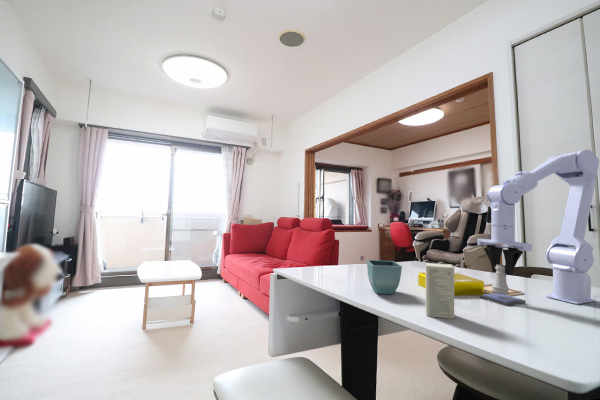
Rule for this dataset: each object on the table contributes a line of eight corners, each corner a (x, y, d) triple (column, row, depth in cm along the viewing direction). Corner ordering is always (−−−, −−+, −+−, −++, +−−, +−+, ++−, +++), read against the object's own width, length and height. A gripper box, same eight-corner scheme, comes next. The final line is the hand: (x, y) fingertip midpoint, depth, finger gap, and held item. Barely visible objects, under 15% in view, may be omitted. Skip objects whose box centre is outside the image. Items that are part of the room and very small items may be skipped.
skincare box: (452, 314, 76) (452, 264, 76) (454, 320, 72) (455, 267, 72) (424, 310, 78) (425, 262, 78) (425, 316, 74) (426, 265, 74)
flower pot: (402, 297, 90) (402, 266, 90) (371, 296, 90) (372, 265, 90) (393, 289, 98) (394, 260, 99) (365, 288, 99) (366, 259, 99)
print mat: (490, 285, 107) (490, 283, 107) (524, 293, 97) (524, 291, 97) (468, 287, 103) (468, 286, 103) (501, 297, 93) (501, 295, 93)
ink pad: (497, 295, 94) (497, 292, 94) (525, 303, 87) (525, 299, 87) (479, 297, 91) (479, 294, 91) (507, 306, 84) (507, 302, 84)
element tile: (444, 297, 92) (445, 281, 92) (415, 284, 106) (415, 271, 106) (487, 296, 95) (487, 280, 95) (453, 283, 109) (453, 270, 110)
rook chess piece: (512, 295, 86) (514, 267, 86) (495, 293, 87) (496, 265, 87) (504, 292, 90) (506, 264, 91) (488, 290, 91) (489, 262, 91)
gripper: (470, 224, 94) (470, 269, 94) (520, 227, 81) (520, 279, 81) (486, 224, 97) (485, 267, 97) (536, 227, 84) (536, 277, 84)
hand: (502, 273), depth 89 cm, fingers closed on rook chess piece, 3 cm apart
